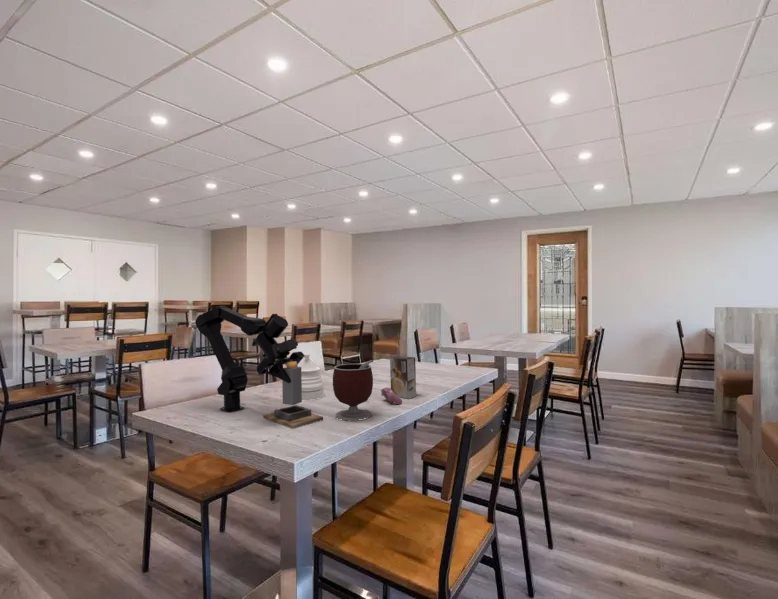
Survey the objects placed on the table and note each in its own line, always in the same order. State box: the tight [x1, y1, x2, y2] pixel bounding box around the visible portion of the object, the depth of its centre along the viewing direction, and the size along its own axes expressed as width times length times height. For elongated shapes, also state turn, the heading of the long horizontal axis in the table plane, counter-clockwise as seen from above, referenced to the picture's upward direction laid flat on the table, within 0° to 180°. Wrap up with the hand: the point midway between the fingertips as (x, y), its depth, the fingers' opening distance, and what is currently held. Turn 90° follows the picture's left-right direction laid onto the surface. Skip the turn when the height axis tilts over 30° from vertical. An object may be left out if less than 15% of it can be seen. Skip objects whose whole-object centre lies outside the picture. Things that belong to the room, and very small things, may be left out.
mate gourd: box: [332, 359, 374, 421], centre depth 141 cm, size 16×14×20 cm
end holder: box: [262, 404, 324, 429], centre depth 139 cm, size 18×12×3 cm, turn 47°
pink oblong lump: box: [380, 386, 403, 405], centre depth 159 cm, size 10×5×7 cm, turn 21°
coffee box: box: [389, 355, 417, 400], centre depth 168 cm, size 9×6×16 cm
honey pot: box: [298, 353, 325, 401], centre depth 170 cm, size 13×13×18 cm
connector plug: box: [281, 361, 303, 406], centre depth 139 cm, size 4×4×14 cm
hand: (295, 381), depth 138 cm, fingers closed on connector plug, 4 cm apart
